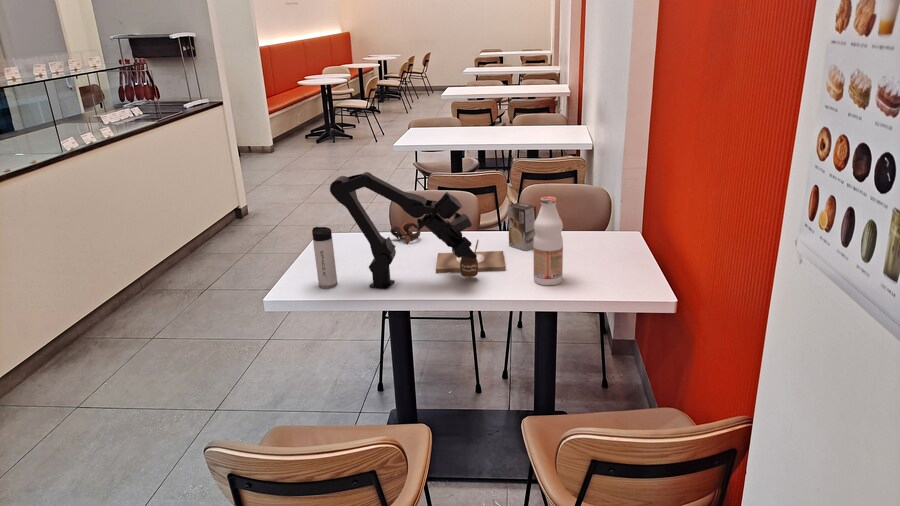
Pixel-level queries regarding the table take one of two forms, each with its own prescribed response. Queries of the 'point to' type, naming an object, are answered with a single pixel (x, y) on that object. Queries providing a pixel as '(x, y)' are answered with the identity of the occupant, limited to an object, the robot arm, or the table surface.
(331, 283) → the travel mug
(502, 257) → the walnut board
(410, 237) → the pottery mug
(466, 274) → the utensil holder
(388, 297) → the table surface
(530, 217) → the coffee box
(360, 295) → the table surface
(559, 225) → the fruit juice
